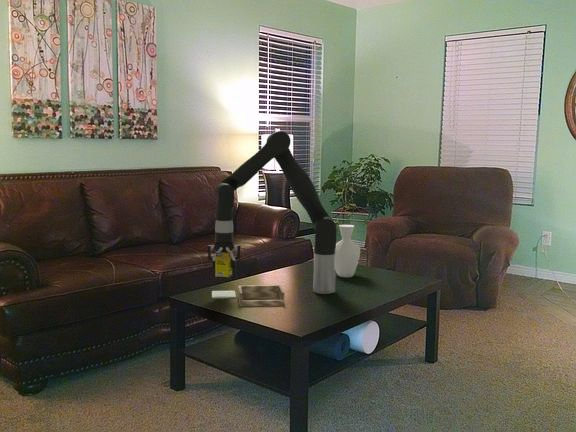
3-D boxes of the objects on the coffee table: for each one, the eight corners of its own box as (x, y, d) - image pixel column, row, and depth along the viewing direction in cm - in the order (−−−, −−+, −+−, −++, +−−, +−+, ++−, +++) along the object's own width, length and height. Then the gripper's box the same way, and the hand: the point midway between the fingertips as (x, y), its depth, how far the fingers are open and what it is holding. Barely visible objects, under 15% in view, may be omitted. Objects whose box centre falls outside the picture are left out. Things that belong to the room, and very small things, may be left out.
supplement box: (228, 279, 238) (228, 253, 237) (214, 278, 240) (214, 252, 238) (232, 275, 244) (232, 250, 243) (219, 275, 245) (219, 250, 244)
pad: (234, 291, 248) (234, 290, 248) (236, 298, 239) (236, 296, 239) (211, 292, 247) (211, 290, 247) (211, 298, 237) (211, 297, 237)
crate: (280, 296, 242) (280, 285, 242) (284, 305, 229) (284, 293, 229) (238, 297, 240) (238, 285, 239) (239, 306, 227) (240, 293, 226)
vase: (361, 279, 276) (362, 228, 273) (331, 278, 277) (333, 227, 273) (357, 272, 291) (359, 223, 287) (329, 271, 291) (331, 223, 288)
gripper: (240, 229, 244) (240, 267, 246) (207, 229, 242) (206, 267, 244) (241, 232, 237) (241, 271, 239) (206, 232, 235) (206, 271, 237)
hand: (223, 269), depth 241 cm, fingers closed on supplement box, 7 cm apart
